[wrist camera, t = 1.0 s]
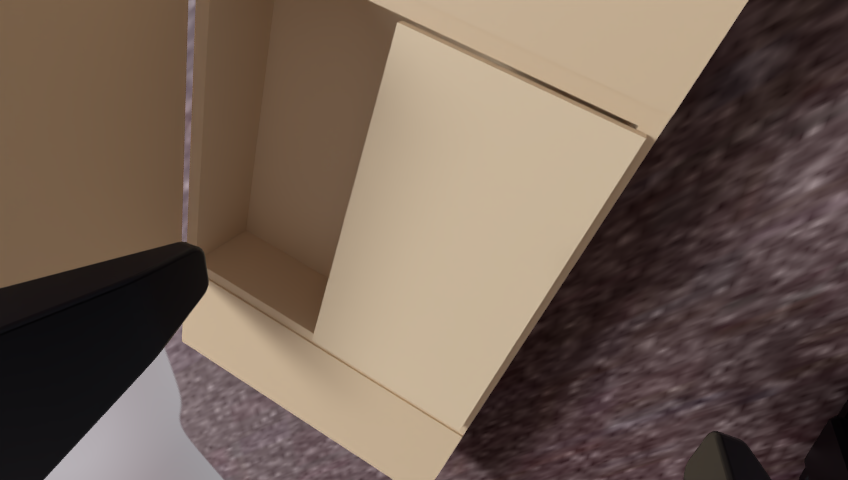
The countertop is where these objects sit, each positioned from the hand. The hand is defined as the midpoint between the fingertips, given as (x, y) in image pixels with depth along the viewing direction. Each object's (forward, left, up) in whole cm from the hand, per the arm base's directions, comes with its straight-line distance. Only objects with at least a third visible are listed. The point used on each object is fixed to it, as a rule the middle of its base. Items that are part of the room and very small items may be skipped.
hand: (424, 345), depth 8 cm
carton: (+7, +3, -13) cm, 15 cm away
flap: (+14, 0, -4) cm, 15 cm away
